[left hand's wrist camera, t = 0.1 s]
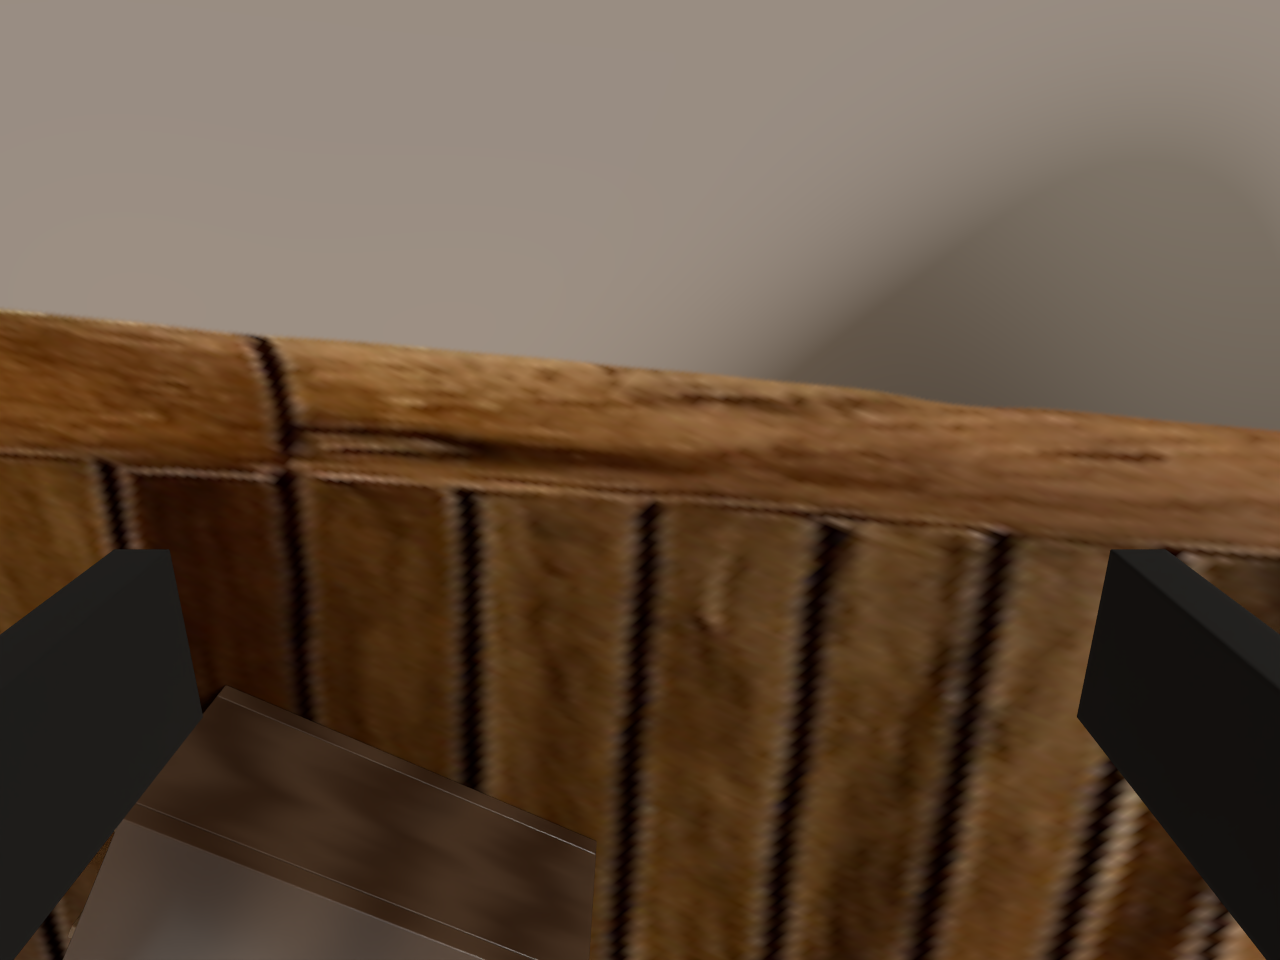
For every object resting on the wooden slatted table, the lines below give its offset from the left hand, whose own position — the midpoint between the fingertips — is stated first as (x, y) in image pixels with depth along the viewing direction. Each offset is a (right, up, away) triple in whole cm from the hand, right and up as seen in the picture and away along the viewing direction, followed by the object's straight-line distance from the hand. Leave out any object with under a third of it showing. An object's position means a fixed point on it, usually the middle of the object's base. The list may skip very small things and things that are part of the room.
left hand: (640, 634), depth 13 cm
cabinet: (-14, -18, +36) cm, 43 cm away
